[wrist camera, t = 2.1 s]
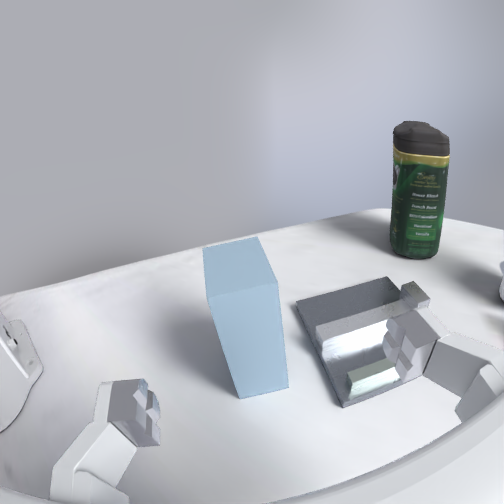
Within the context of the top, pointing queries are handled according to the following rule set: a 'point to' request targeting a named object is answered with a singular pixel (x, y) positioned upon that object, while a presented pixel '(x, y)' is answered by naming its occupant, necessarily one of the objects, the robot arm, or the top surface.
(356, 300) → the rail plate
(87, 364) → the top surface
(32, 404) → the top surface
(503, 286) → the white cup
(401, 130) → the coffee jar
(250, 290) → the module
